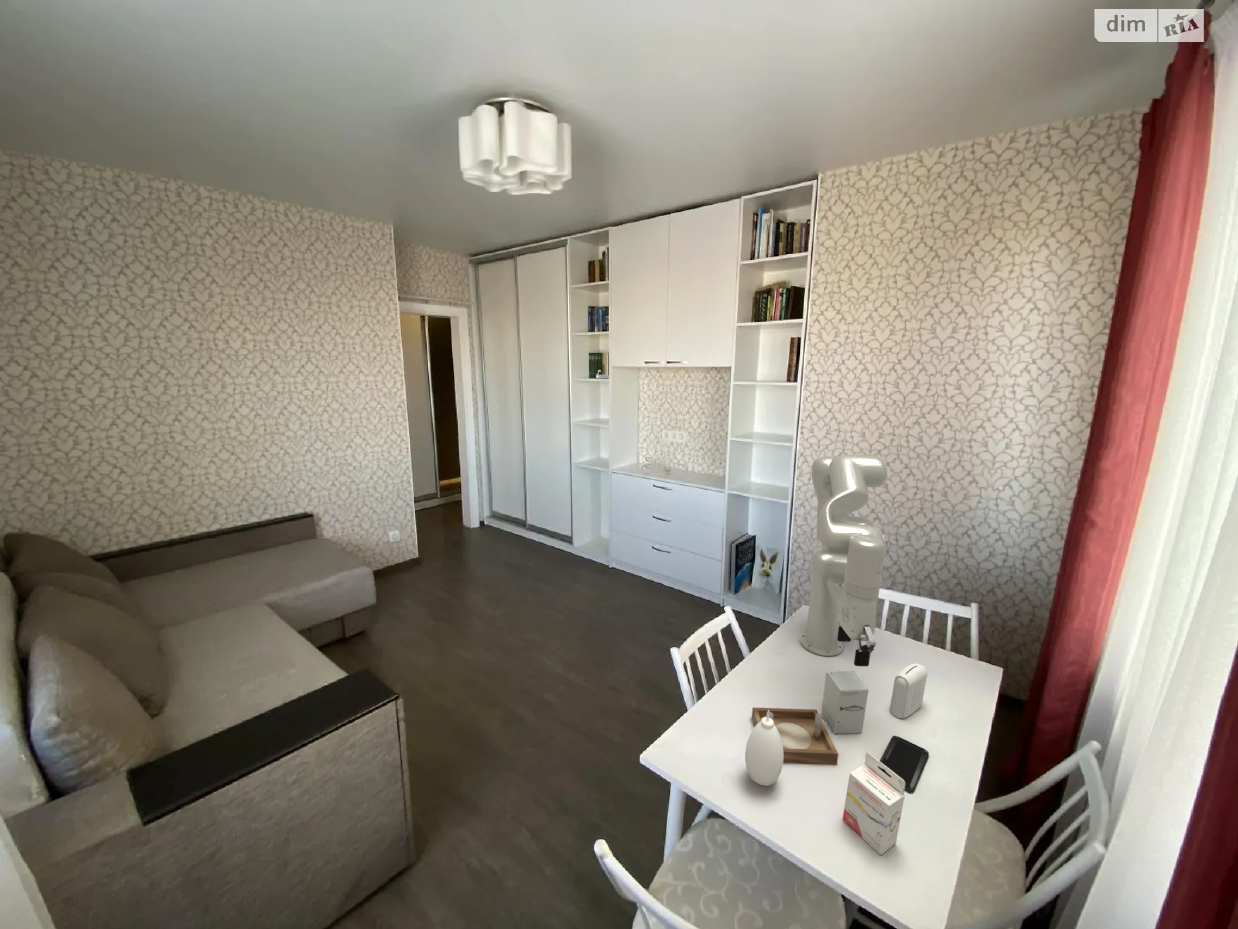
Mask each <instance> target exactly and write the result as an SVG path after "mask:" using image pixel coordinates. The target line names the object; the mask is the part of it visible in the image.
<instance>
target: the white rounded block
mask: <svg viewBox="0 0 1238 929" xmlns="http://www.w3.org/2000/svg"><path fill="white" fill-rule="evenodd" d="M927 677H928V671H927V669H926V667H925V666H924V665H922V664H920V663H912V664H909V665H907V666H905V667H903V669H901V670H900V671H899V672H898V673H897V674H896V675H895V677H894V683H893V688H892V692H891V693H892V694H891V698H890V699H891V700H890V704H889V705H890V706H889V711H890V712H891V714H892V715H893V716H895V717H897V718H899V719H906V718H908V717H909V716H911V715H912V714H914V713H915V712H916V711H918V710H919V709H920V708H921V707H922V705H923V699H924V695H925V689H926V684H927Z"/></svg>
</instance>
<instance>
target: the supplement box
mask: <svg viewBox="0 0 1238 929" xmlns="http://www.w3.org/2000/svg"><path fill="white" fill-rule="evenodd" d="M823 688H824V689H823V696H822V702H821V710H820V711H821V712H820V714H821V715H822V716H823V719H824V721H825V722H826V725H827V726H828V728H829V729H830V731H831V733H832V734H833V735H835V734H836V735H837V734H862V733H863V728H864V721H865V715H866V708H867V707H866V706H867V702H868V697H869V696H868V695H869V689H868V687H867V685H866V684H865V683H864V682H863V680H862V679H861V678H860V676H859V675H858V674H857V673H856V671H853V670H848V671H843V670H842V671H840V670H838V671H826V672H825V681H824V687H823Z"/></svg>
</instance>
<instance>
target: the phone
mask: <svg viewBox="0 0 1238 929" xmlns="http://www.w3.org/2000/svg"><path fill="white" fill-rule="evenodd" d="M929 756H930V753H929V751H928V750H927V749H926V748H924V747H921V746H919V745H917V744H915V743H913V742H911V741H909V740H907V739H905V738H903V737H901V736H898V735H892V736H891V738H890V740H889V742H888V744H887V746H886V747H885V749H884V752H883V753H882V755H881V757H880V759H879V761H880V762H881V763H883V764H884V765H885V766H886V767H888V768H889V769H890V770H892V771H893V772H894V773H895V774H897V775H898V776H899V777H900V778H902V779H903V780H904V781H905V790H904V792H906V793H908V794H914V793H915V791H916V788H917V786H918V783H919V781H920V779H921V776H922V774H923V772H924V771H923V770H925V766H926V764H927V763H928V762H927V761H928V758H929ZM878 768H879V769H880V770H881V771H882V772H884V773H885V774H886V775H887V776H889V777H890V778H892V777H891V775H889V774H888V773H887V772H886V770H885V769H882V768H880V767H879V766H878Z"/></svg>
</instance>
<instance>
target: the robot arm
mask: <svg viewBox="0 0 1238 929" xmlns="http://www.w3.org/2000/svg"><path fill="white" fill-rule="evenodd" d="M887 478H888V469H887V466H886V463H885V461H884V460H883V459H882V458H881V457H880V456H876V455H875V456H874V455H862V454H861V455H860V454H841V455H837V456H821V457H818V458H816V459H814V461H813V463H812V466H811V480H812V484H813V488H814V490H815V494H816V499H817V514H816V515H817V516H816V537H817V540H818V542H819V543H820V544H821V548H822V549H823V550H822V549H820V550H817V551H815V552H814V553H812V555H811V557H810V577H811V578H810V580H811V581H810V593H809V603H808V604H809V605H808V612H807V621H806V630H805V631H804V632H803V633H801V635H800V637H799V642H800V644H801V646H802V647H803V648H804V649H806V650H807V651H809V652H811V653H813V654H816V655H819V656H825V657H835V656H838V655H840V654H842V652H843V650H844V644H843V642H845V643H846V642H847V643H848V642H851V640H852V641H856V647H857V649H855V652H854V658H853V659H854V660H853V664H854V666H855V667H869V665H870V660H871V653H873V651H874V650H875V647H876V646H877V643H876V640H875V637H874V634H875V630H876V621H877V619H876V618H877V600H878V599H879V594H880V588H881V582H882V574H883V567H884V562H885V561H884V560H885V555H886V544H885V543H886V536H885V535H884V533H883V531H882V530H881V528H879V527H877V526H873V523H872V521H871V520H870V519H868V518H867V517H863V516H852V515H848V514H850V513H852V512H856V511H858V510H860V509H862V508H864V507H865V506H866V505H867V504H868V502H869V493H868V488H880V487H882V486H883V485H885V483H886V480H887ZM838 584H841V585H843V587H842V590H841V588H840V586H838ZM862 636H864V637H862ZM862 641H863V642H864V641H865V644H864V645H862Z"/></svg>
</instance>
